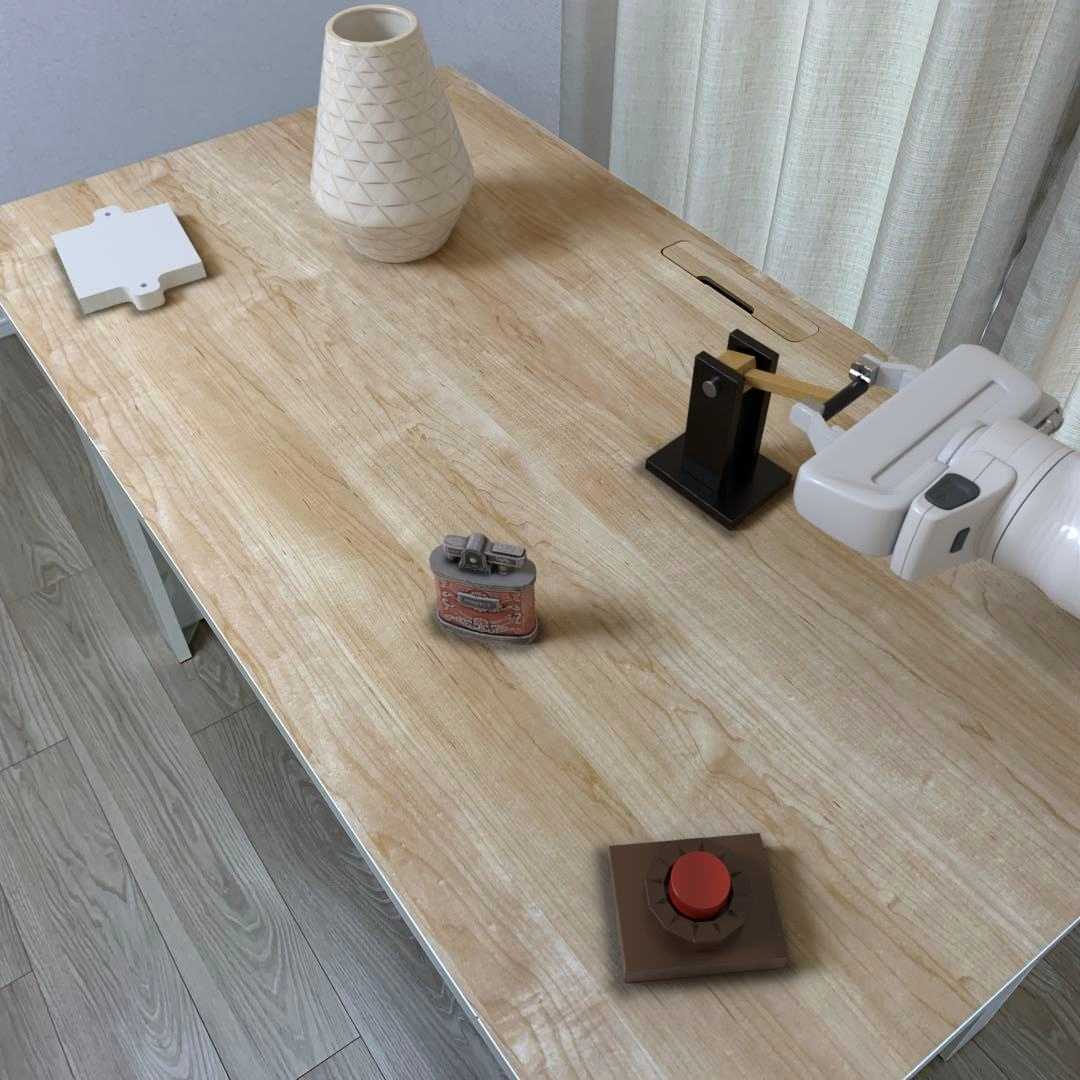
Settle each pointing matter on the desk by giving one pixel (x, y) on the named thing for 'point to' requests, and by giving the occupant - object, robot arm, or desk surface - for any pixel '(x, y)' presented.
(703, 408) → the switch bracket
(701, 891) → the light button
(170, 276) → the mounting plate
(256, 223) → the desk surface
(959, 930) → the desk surface
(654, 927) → the button box
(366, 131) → the vase
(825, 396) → the switch lever
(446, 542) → the lighter
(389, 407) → the desk surface
